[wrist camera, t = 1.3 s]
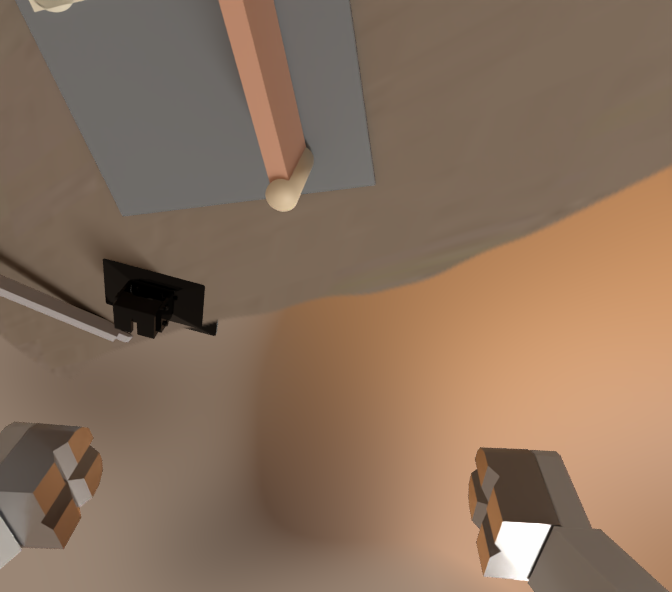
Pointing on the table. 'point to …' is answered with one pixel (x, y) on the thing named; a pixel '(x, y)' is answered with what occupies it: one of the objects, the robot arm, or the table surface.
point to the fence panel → (269, 97)
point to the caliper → (60, 310)
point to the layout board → (199, 97)
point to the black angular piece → (153, 300)
